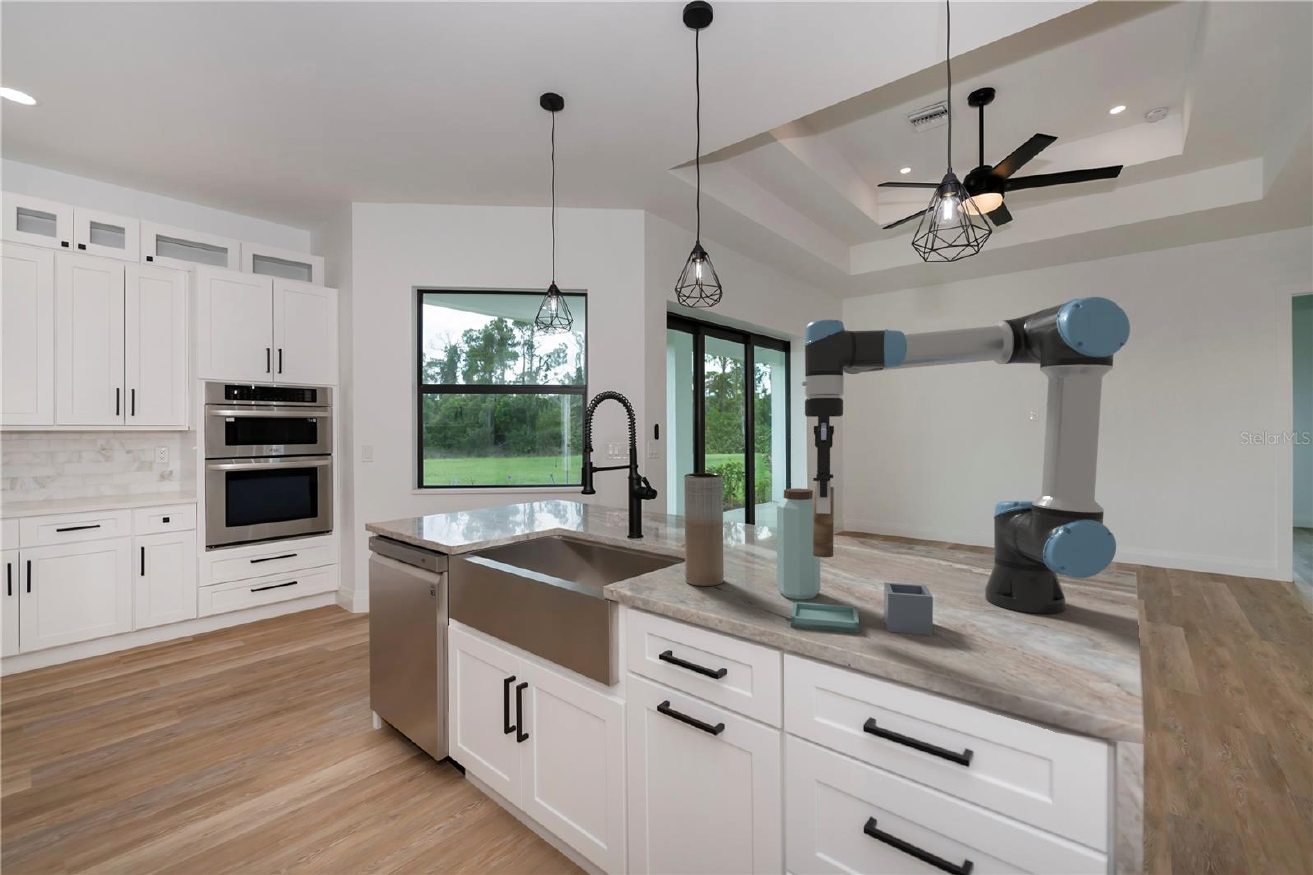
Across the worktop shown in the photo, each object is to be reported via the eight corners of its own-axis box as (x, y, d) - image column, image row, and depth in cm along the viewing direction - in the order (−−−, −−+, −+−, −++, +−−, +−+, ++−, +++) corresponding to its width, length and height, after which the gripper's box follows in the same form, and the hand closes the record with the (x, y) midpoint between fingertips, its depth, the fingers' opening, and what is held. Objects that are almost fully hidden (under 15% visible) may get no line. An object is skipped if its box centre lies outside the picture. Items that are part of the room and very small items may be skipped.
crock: (925, 621, 118) (925, 585, 117) (932, 635, 110) (932, 596, 110) (884, 617, 120) (884, 582, 120) (888, 631, 112) (888, 593, 112)
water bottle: (822, 601, 131) (821, 493, 130) (777, 599, 133) (777, 492, 132) (818, 589, 140) (818, 487, 140) (777, 587, 142) (776, 487, 142)
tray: (856, 616, 121) (856, 606, 121) (859, 633, 111) (859, 623, 111) (793, 610, 125) (793, 601, 125) (790, 627, 115) (790, 617, 115)
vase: (682, 576, 153) (681, 473, 152) (719, 575, 154) (718, 472, 153) (688, 587, 143) (687, 477, 142) (727, 586, 144) (726, 476, 143)
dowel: (833, 553, 119) (833, 486, 119) (833, 557, 115) (833, 488, 115) (813, 552, 120) (813, 486, 120) (812, 556, 116) (813, 488, 116)
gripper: (806, 399, 126) (806, 504, 127) (803, 396, 109) (803, 517, 110) (842, 398, 124) (841, 505, 124) (844, 395, 107) (843, 519, 108)
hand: (823, 511), depth 117 cm, fingers closed on dowel, 4 cm apart
